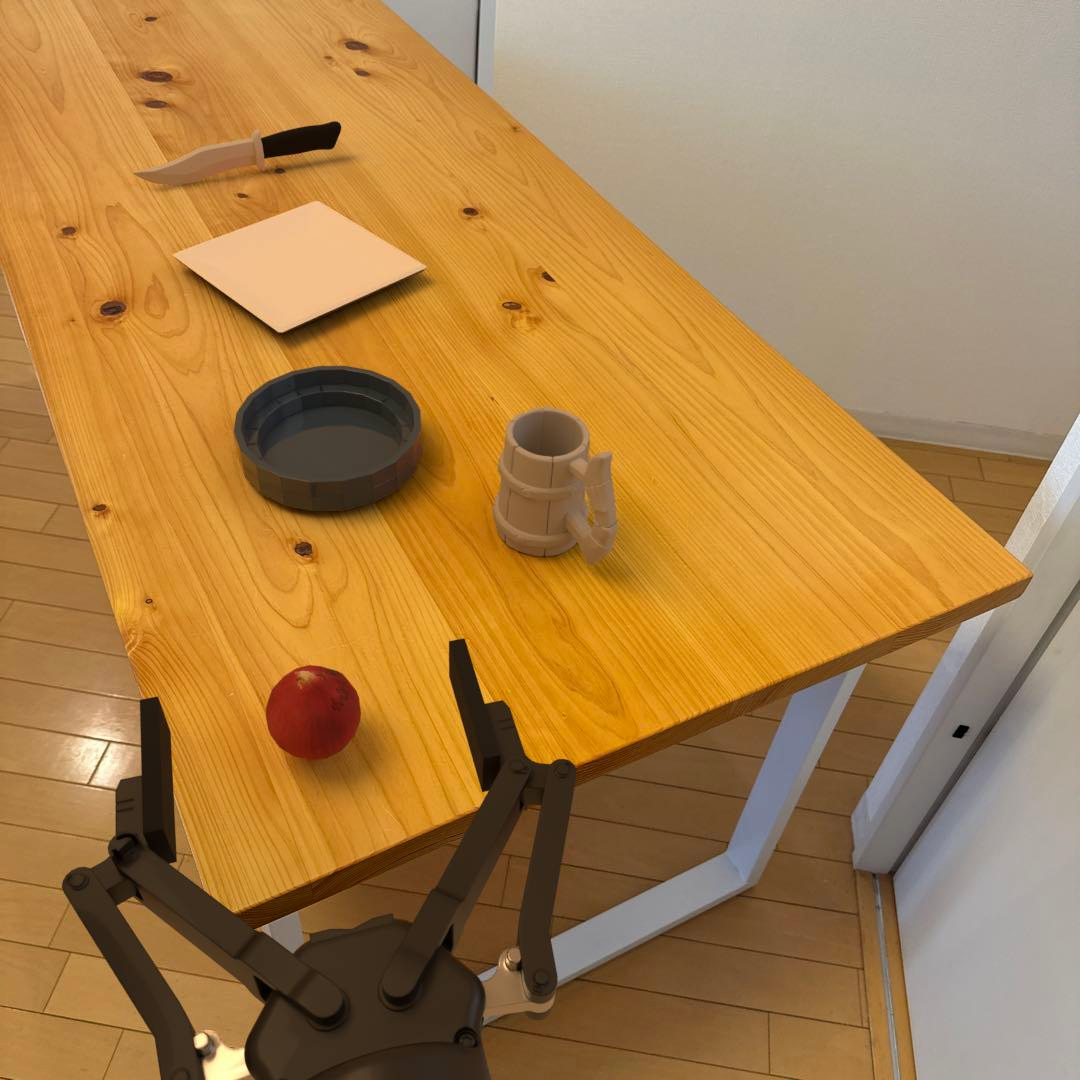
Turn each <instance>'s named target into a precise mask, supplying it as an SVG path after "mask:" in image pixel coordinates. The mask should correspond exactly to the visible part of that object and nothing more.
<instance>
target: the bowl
mask: <svg viewBox="0 0 1080 1080" xmlns="http://www.w3.org/2000/svg"><path fill="white" fill-rule="evenodd" d="M233 437H234V442H235V447H236V451H237V458H238V462H239V465H240V467H241V470H242V473H243V475H244V477H245V480H246V481H248V483H250V485H252V487H254V488H255V489H256V490H257V491H258V492H259V493H260V494H261V495H263V496H264V497H266V498H269V499H270V500H272V501H275V502H276V503H278V504H280V505H283V506H285V507H289V508H295V509H300V510H305V511H311V512H334V511H337V512H338V511H339V512H340V511H347V510H352V509H356V508H359V507H363V506H367V505H371V504H374V503H376V502H378V501H380V500H381V499H384V498H386V497H388V496H389V495H391V494H393V493H395V492H397V491H398V490H400V488H402V487H403V485H405V484H406V483H407V481H409V480H410V479H411V478H412V477H413V476H414V474H415V473H416V470H417V468H418V465H419V464H420V461H421V459H422V457H423V442H422V439H423V437H422V411H421V409H420V406H419V405H418V402H416V400H415V398H414V396H413V395H412V393H411V392H410V391H409V390H408V389H406V388H405V387H404V386H402V385H401V383H399V382H398V381H396V380H395V379H394V378H391V377H389V376H386V375H383V374H381V373H379V372H376V371H374V370H372V369H365V368H360V367H355V366H349V365H315V366H311V367H307V368H301V369H295V370H292V371H288V372H286V373H284V374H282V375H280V376H277V377H273V378H272V379H269V380H267V381H266V382H264V383H263V384H262V385H260V386H258V387H257V388H256V389H254V390H253V391H252V392H251V393H249V395H248V396H246V398H245V399H244V401H243V402H242V404H241V405H240V407H239V408H238V410H237V411H236V413H235V419H234V425H233Z"/></svg>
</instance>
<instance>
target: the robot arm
mask: <svg viewBox="0 0 1080 1080" xmlns="http://www.w3.org/2000/svg"><path fill="white" fill-rule="evenodd" d="M448 679H449V681H450V685H451V688H452V692H453V696H454V699H455V702H456V705H457V709H458V713H459V716H460V719H461V723H462V727H463V731H464V734H465V737H466V741H467V744H468V745H467V746H468V748H469V750H470V755H471V758H472V762H473V765H474V769H475V772H476V775H477V779H478V783H479V787H480V790H481V793H486V792H487V793H486V794H485V796H484V799H483V800H482V802H481V803H480V806H479V807H478V809H477V812H476V813H475V815H474V817H473V819H472V820H471V822H470V823H469V826H468V828H467V830H466V831H465V833H464V835H463V836H462V839H461V840H460V842H459V844H458V845H457V847H456V849H455V852H454V853H453V855H452V858H451V859H450V860H449V862H448V864H447V866H446V868H445V870H444V872H443V873H442V875H441V877H440V879H439V881H438V882H437V884H436V886H435V887H433V888H432V889H430V891H429V893H428V894H427V896H426V897H425V900H424V902H423V904H422V905H421V907H420V909H419V911H418V912H417V914H416V916H415V918H414V920H413V922H412V921H411V920H407V919H403V918H394V913H392V912H391V913H387V914H383V915H379V916H375V917H372V918H369V919H368V920H366V921H364V922H363V923H360V924H358V925H356V926H354V927H352V928H327V929H323V930H320V931H316V932H312V933H309V934H308V935H309V940H306V941H304V943H302V944H301V945H300V946H298V947H297V948H296V950H295V951H294V952H291V951H290V950H289V949H288V948H287V947H285V946H284V945H282V944H281V943H280V942H278V941H277V940H276V939H274V938H273V937H272V936H271V935H269V934H268V933H267V932H265V931H262V930H261V931H259V930H257V929H255V928H254V927H253V926H251V925H250V924H249V923H248V922H246V921H245V920H243V919H242V918H241V917H240V916H238V915H237V914H236V913H234V912H233V911H232V910H230V909H229V908H228V907H226V905H224V904H223V903H221V902H220V900H218V899H216V898H215V897H213V896H212V895H211V894H209V893H208V892H207V891H205V890H204V889H203V888H202V887H200V886H199V885H197V883H195V882H194V881H192V880H191V879H190V878H189V877H187V876H186V875H185V874H183V873H182V872H180V870H178V869H177V868H175V867H174V866H173V865H171V864H174V863H178V859H177V857H178V856H177V836H176V817H175V815H176V814H175V794H174V775H173V774H174V773H173V753H172V752H173V751H172V736H171V735H172V733H171V732H172V731H171V729H170V726H169V723H168V720H167V718H166V715H165V712H164V709H163V707H162V704H161V701H160V698H159V696H158V695H157V696H153V697H146V698H142V699H139V722H140V723H139V724H140V725H139V726H140V762H141V764H140V765H141V766H140V767H141V770H140V771H141V774H140V775H137V776H131V777H126V778H122V779H121V778H120V780H119V782H118V784H117V787H116V789H115V790H114V791H115V792H114V793H115V797H114V799H115V800H114V801H115V802H114V803H115V805H114V806H115V807H114V808H115V811H114V812H115V815H114V817H115V835H114V836H113V837H111V839H110V840H109V843H108V845H107V852H108V853H107V854H108V855H109V856H108V857H107V858H106V859H104V860H103V861H101V862H99V863H97V864H95V865H94V866H92V867H88V866H79V867H76V868H73V869H71V870H70V871H69V872H68V873H66V875H65V876H64V878H63V880H62V882H61V889H62V893H63V894H64V895H65V897H66V899H67V900H68V902H69V904H70V905H71V908H73V910H74V912H75V913H76V915H77V917H78V918H79V920H80V922H81V923H82V925H83V926H84V928H85V930H86V931H87V933H88V935H89V936H90V938H91V939H92V941H93V942H94V944H95V945H96V947H97V949H98V950H99V952H100V954H101V955H102V957H103V959H104V960H105V962H106V963H107V964H108V966H109V968H110V969H111V971H112V972H113V974H114V976H115V977H116V979H117V980H118V982H119V984H120V985H121V987H122V989H123V990H124V992H125V993H126V995H127V996H128V998H129V1000H130V1002H131V1003H132V1004H133V1006H134V1008H135V1009H136V1011H137V1013H138V1015H139V1016H140V1017H141V1019H142V1021H143V1022H144V1024H145V1025H146V1027H147V1028H148V1030H149V1032H150V1033H151V1036H152V1037H153V1038H154V1043H155V1050H156V1056H157V1063H158V1064H157V1065H158V1069H159V1070H158V1071H159V1075H160V1076H159V1077H160V1080H492V1077H491V1073H490V1069H489V1065H488V1060H487V1057H486V1052H485V1049H484V1044H483V1037H482V1029H483V1025H484V1021H485V1019H486V1018H493V1017H498V1016H504V1015H510V1014H517V1013H524V1015H525V1016H526V1017H527V1018H528V1019H531V1020H533V1021H542V1020H545V1019H547V1018H548V1017H549V1016H550V1015H551V1013H552V1011H553V1010H554V1009H553V1008H554V1003H555V999H556V993H557V988H558V981H559V980H558V972H557V965H556V961H555V955H554V950H553V943H552V938H551V933H550V932H551V926H552V921H553V915H554V910H555V903H556V897H557V891H558V888H559V887H558V886H559V880H560V876H561V875H560V874H561V869H562V862H563V858H564V857H563V856H564V852H565V846H566V840H567V834H568V829H569V822H570V817H571V816H570V815H571V811H572V806H573V799H574V793H575V787H576V780H577V773H578V772H577V767H576V765H575V764H574V763H573V762H572V761H571V760H570V759H566V758H557V759H556V760H555V759H554V760H553V761H552V762H551V763H543V762H537V761H534V760H532V759H531V758H529V757H528V756H527V754H526V752H525V750H524V746H523V744H522V740H521V737H520V733H519V731H518V728H517V727H516V726H517V725H516V722H515V719H514V716H513V713H512V710H511V707H510V706H509V705H508V704H507V703H506V702H505V700H504V699H501V700H497V701H491V702H487V703H485V700H484V696H483V694H482V689H481V686H480V683H479V680H478V678H477V674H476V670H475V667H474V664H473V661H472V657H471V654H470V651H469V647H468V645H467V641H466V638H459V639H458V638H457V639H453V640H448ZM529 805H532V806H540V808H539V814H538V820H537V825H536V830H535V834H534V840H533V845H532V850H531V855H530V860H529V864H528V870H527V875H526V882H525V886H524V889H523V890H524V891H523V894H522V895H523V896H522V900H521V906H520V912H519V917H518V926H517V935H516V943H515V946H510V947H506V948H505V949H504V950H502V952H501V953H500V954H499V956H498V959H497V967H496V970H495V972H494V973H493V974H492V976H491V977H489V978H488V979H485V980H481V979H480V977H479V976H478V975H477V974H476V973H475V972H474V971H473V970H472V969H470V968H469V966H467V965H466V964H465V963H463V962H462V961H461V960H459V958H458V957H456V956H455V955H454V953H455V950H456V949H457V946H458V944H459V943H460V941H461V938H462V934H463V931H464V928H465V926H466V924H467V922H468V920H469V918H470V916H471V915H472V912H473V910H474V908H475V906H476V904H477V902H478V900H479V898H480V897H481V895H482V892H483V891H484V889H485V887H486V885H487V883H488V881H489V879H490V878H491V875H492V873H493V871H494V869H495V867H496V865H497V863H498V861H499V859H500V857H501V856H502V853H503V852H504V849H505V848H506V846H507V843H508V841H509V840H510V838H511V835H512V833H513V832H514V830H515V828H516V826H517V824H518V822H519V820H520V818H521V817H522V814H523V812H524V811H525V812H527V811H528V808H529ZM131 898H134V899H135V900H136V901H138V902H139V903H140V904H141V905H142V906H144V907H145V908H147V910H149V911H150V912H151V913H152V914H154V915H155V916H156V917H157V918H159V919H160V920H161V921H162V922H164V923H165V924H167V925H168V926H169V927H170V928H172V929H173V930H174V931H175V932H177V933H178V934H179V935H181V936H182V937H183V938H184V939H185V940H187V941H188V942H189V943H191V944H192V945H193V946H194V947H195V948H197V949H198V950H199V951H201V952H202V953H203V954H204V955H205V956H207V957H208V958H210V959H211V960H212V961H213V962H214V963H215V964H217V965H218V966H220V967H221V968H222V969H223V970H225V971H226V972H227V973H228V974H230V975H231V976H232V977H233V978H235V979H236V980H237V981H239V982H240V983H241V984H242V985H243V986H244V987H245V988H246V990H248V991H249V992H250V994H251V995H252V996H253V997H254V998H255V999H257V1000H258V1001H259V1002H261V1003H262V1004H263V1007H262V1008H261V1011H260V1012H259V1014H258V1016H257V1018H256V1020H255V1022H254V1024H253V1026H252V1028H250V1029H251V1030H250V1032H249V1033H248V1035H247V1037H246V1040H245V1044H244V1046H243V1047H239V1048H234V1047H233V1048H232V1047H230V1046H228V1045H227V1044H225V1043H224V1041H223V1039H222V1037H221V1035H220V1033H218V1032H217V1031H216V1030H212V1029H202V1030H200V1031H197V1032H196V1030H195V1028H194V1025H193V1024H192V1022H191V1020H190V1018H189V1016H188V1014H187V1012H186V1011H185V1009H184V1007H183V1005H182V1004H181V1002H180V1000H179V999H178V997H177V995H176V994H175V993H174V991H173V989H172V988H171V986H170V985H169V983H168V982H167V980H166V979H165V977H164V975H163V974H162V973H161V971H160V969H159V968H158V967H157V965H156V964H155V962H154V960H153V959H152V958H151V956H150V954H149V953H148V952H147V949H146V948H145V947H144V945H143V944H142V942H141V940H140V939H139V937H138V936H137V935H136V933H135V931H134V930H133V929H132V927H131V926H130V924H129V922H128V921H127V920H126V918H125V916H124V914H123V913H122V912H121V910H120V909H119V907H118V906H119V905H121V904H122V903H125V902H126V901H128V900H130V899H131Z"/></svg>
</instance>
